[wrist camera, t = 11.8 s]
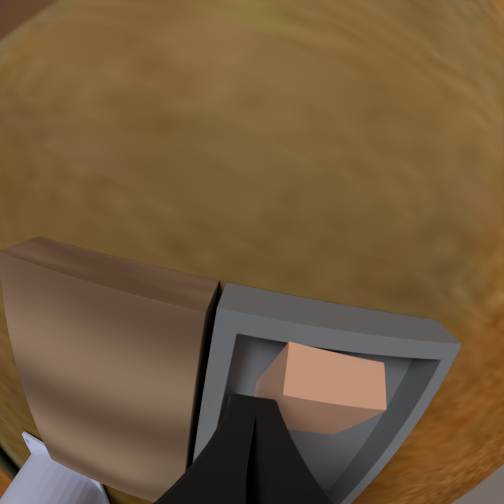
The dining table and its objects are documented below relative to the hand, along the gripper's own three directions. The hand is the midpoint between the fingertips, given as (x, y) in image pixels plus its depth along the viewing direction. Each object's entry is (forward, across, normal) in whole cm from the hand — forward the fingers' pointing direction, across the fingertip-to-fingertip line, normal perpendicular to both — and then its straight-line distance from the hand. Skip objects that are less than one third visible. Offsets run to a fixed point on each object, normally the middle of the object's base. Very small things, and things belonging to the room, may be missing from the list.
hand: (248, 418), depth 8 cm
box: (+5, -4, +5) cm, 8 cm away
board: (+5, +7, +5) cm, 10 cm away
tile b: (+3, -3, 0) cm, 4 cm away
